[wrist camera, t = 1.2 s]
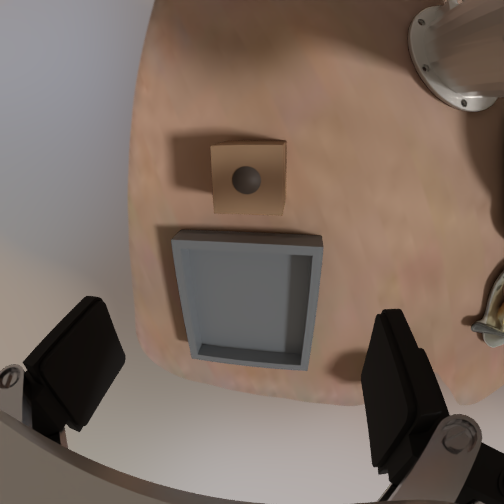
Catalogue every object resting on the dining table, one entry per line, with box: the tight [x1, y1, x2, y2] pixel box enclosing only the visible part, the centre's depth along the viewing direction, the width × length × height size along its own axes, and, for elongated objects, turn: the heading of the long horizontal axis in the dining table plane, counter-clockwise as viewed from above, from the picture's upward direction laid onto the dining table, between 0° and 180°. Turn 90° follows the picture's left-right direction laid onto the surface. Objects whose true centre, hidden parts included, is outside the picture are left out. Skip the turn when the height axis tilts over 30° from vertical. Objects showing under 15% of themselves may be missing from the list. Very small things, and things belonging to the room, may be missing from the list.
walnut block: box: [210, 140, 286, 216], centre depth 26 cm, size 6×6×6 cm
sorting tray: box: [171, 230, 323, 371], centre depth 35 cm, size 18×16×3 cm
